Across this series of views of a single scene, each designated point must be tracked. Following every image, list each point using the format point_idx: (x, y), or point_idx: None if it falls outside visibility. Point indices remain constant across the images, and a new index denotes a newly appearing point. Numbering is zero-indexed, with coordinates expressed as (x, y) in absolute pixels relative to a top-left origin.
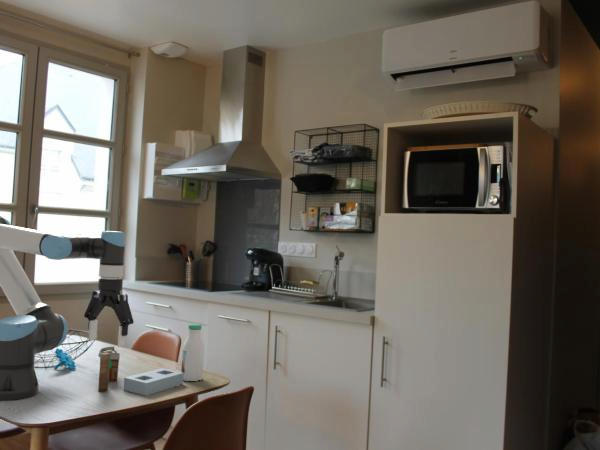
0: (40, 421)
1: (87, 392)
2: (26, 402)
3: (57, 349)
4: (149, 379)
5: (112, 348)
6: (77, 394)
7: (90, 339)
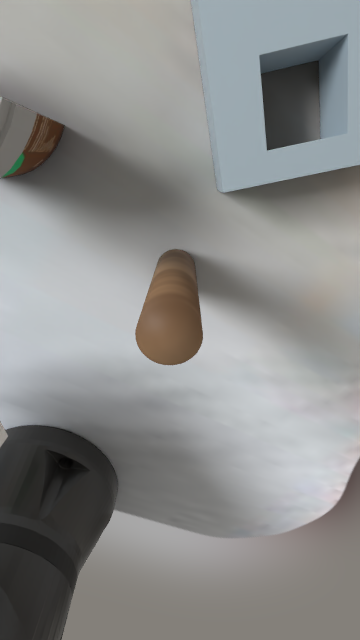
0: (317, 513)
1: None
2: (153, 483)
3: None
4: (353, 88)
5: None
6: None
7: (2, 439)
